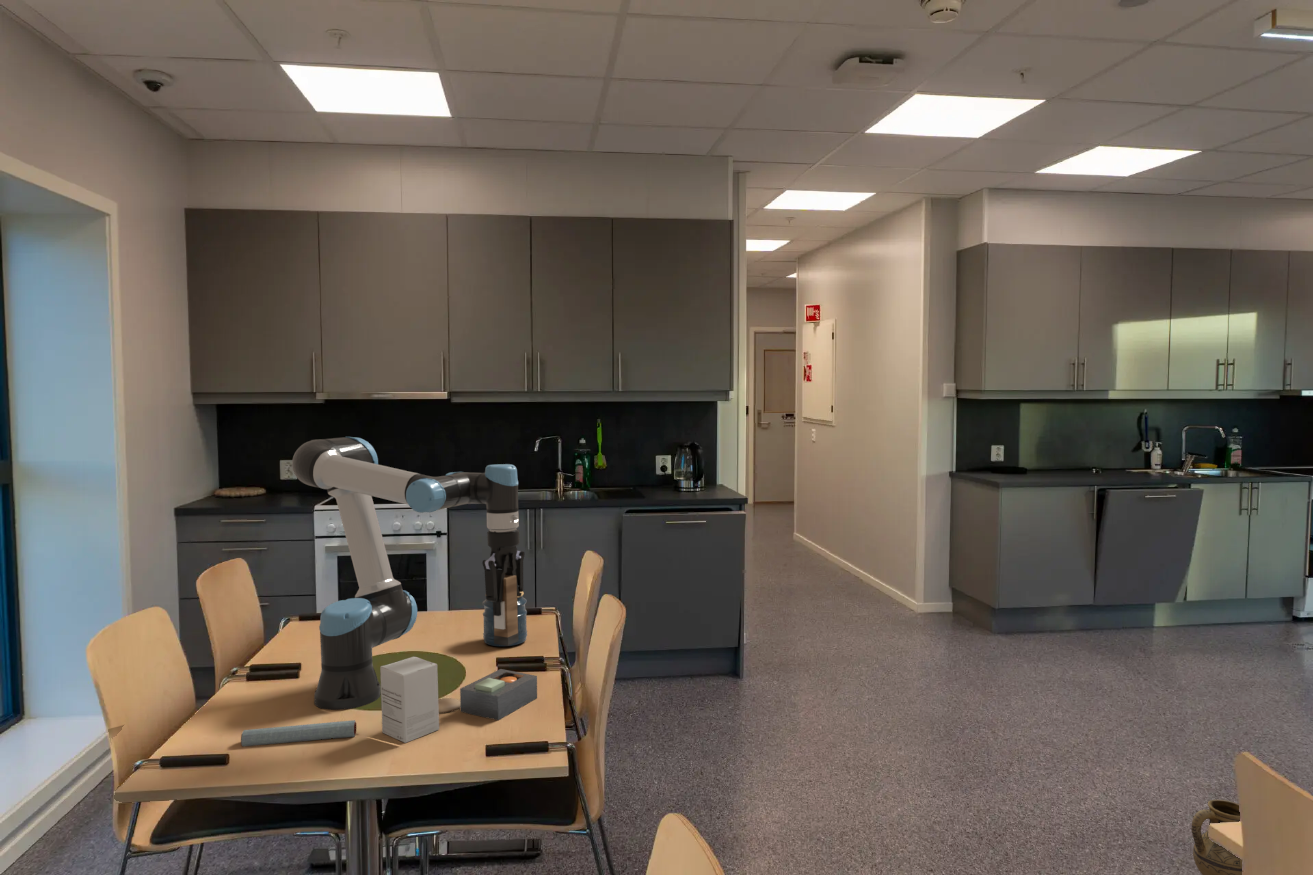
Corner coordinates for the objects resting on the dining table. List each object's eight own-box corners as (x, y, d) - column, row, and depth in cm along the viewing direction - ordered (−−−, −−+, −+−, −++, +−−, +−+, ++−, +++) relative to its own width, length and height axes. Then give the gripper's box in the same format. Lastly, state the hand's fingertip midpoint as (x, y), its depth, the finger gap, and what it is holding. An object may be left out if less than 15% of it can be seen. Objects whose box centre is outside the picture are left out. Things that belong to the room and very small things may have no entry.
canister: (522, 632, 253) (521, 575, 252) (531, 644, 241) (530, 585, 240) (479, 636, 248) (479, 579, 247) (487, 649, 236) (486, 589, 235)
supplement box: (416, 719, 186) (415, 655, 185) (440, 730, 180) (438, 663, 179) (380, 732, 179) (379, 665, 178) (404, 743, 173) (402, 674, 172)
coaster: (445, 715, 188) (445, 713, 188) (418, 709, 191) (418, 707, 191) (468, 703, 195) (468, 701, 195) (442, 698, 198) (442, 695, 198)
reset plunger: (520, 688, 198) (520, 678, 198) (510, 693, 194) (510, 683, 194) (507, 685, 200) (506, 675, 200) (496, 690, 196) (496, 680, 196)
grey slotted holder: (537, 697, 198) (536, 675, 198) (498, 720, 185) (498, 696, 185) (500, 690, 203) (500, 668, 203) (460, 711, 190) (460, 688, 190)
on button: (504, 691, 192) (504, 680, 192) (491, 698, 188) (491, 687, 187) (488, 688, 194) (488, 677, 194) (475, 694, 190) (475, 684, 190)
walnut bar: (494, 643, 195) (492, 577, 195) (504, 639, 199) (502, 574, 198) (508, 645, 194) (506, 579, 193) (518, 640, 197) (516, 575, 196)
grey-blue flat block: (240, 749, 171) (240, 734, 171) (249, 736, 178) (248, 721, 178) (354, 739, 176) (354, 723, 176) (358, 726, 183) (358, 711, 183)
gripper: (493, 535, 186) (496, 637, 187) (537, 524, 201) (539, 618, 202) (467, 533, 189) (470, 633, 190) (512, 523, 204) (515, 615, 205)
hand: (506, 625), depth 196 cm, fingers closed on walnut bar, 4 cm apart
